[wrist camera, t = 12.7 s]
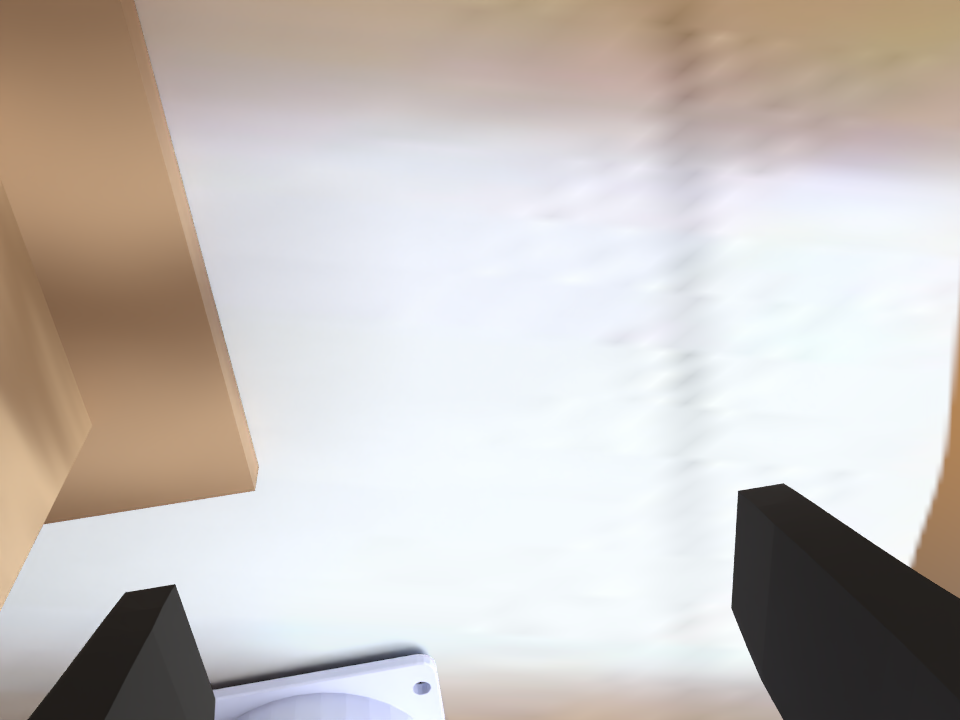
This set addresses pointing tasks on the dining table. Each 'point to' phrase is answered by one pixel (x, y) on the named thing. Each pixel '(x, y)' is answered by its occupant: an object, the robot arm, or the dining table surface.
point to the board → (117, 260)
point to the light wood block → (30, 404)
